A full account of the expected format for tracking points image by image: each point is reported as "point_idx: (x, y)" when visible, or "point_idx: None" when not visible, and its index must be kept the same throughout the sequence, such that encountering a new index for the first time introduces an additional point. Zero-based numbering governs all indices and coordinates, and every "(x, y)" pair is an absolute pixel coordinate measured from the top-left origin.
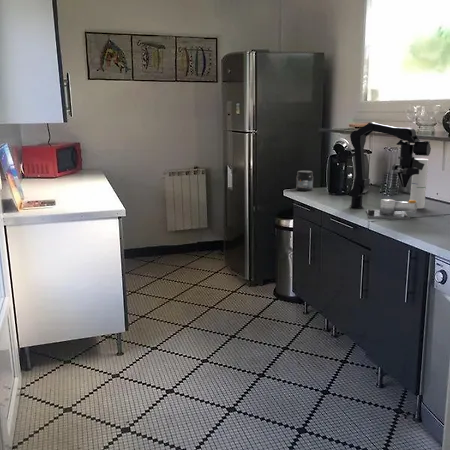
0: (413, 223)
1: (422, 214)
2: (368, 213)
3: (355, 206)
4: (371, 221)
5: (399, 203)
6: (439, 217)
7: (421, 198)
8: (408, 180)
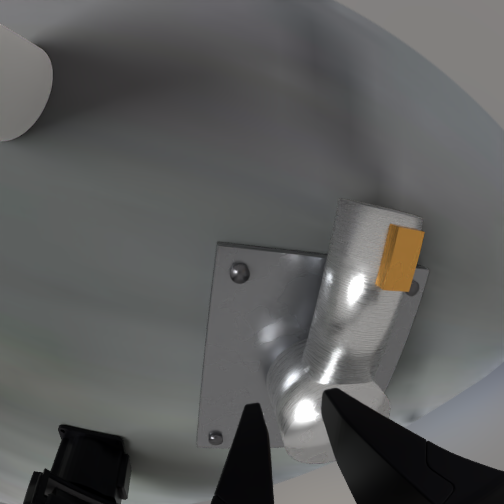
0: (479, 268)
1: (280, 117)
2: None
3: (130, 469)
4: (411, 420)
5: (382, 354)
6: (373, 52)
7: (14, 50)
8: (436, 446)
